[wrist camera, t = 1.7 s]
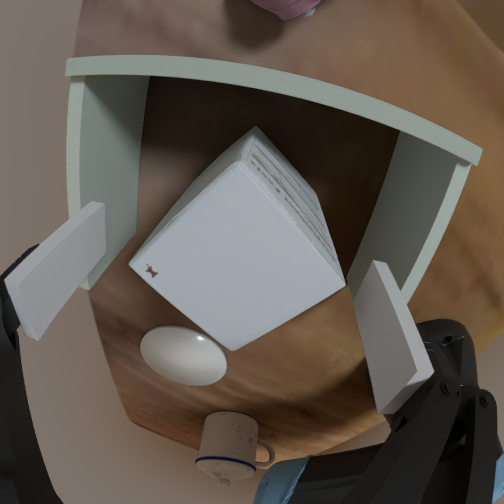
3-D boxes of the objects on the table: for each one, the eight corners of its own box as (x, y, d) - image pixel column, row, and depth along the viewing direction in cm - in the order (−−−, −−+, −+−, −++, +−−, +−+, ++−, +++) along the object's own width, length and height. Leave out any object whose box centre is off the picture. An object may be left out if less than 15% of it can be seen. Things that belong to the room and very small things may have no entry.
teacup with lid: (201, 427, 45) (189, 485, 35) (208, 404, 41) (194, 472, 31) (267, 439, 46) (263, 496, 36) (284, 418, 41) (282, 485, 31)
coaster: (245, 363, 35) (245, 367, 34) (190, 390, 39) (189, 393, 39) (174, 310, 31) (172, 313, 31) (127, 347, 36) (125, 350, 35)
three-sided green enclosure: (140, 63, 19) (67, 58, 11) (413, 123, 20) (482, 149, 11) (127, 230, 27) (74, 291, 18) (355, 279, 27) (379, 356, 19)
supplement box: (250, 243, 26) (229, 357, 16) (190, 181, 24) (120, 265, 13) (318, 193, 24) (351, 289, 13) (258, 121, 21) (236, 155, 10)
